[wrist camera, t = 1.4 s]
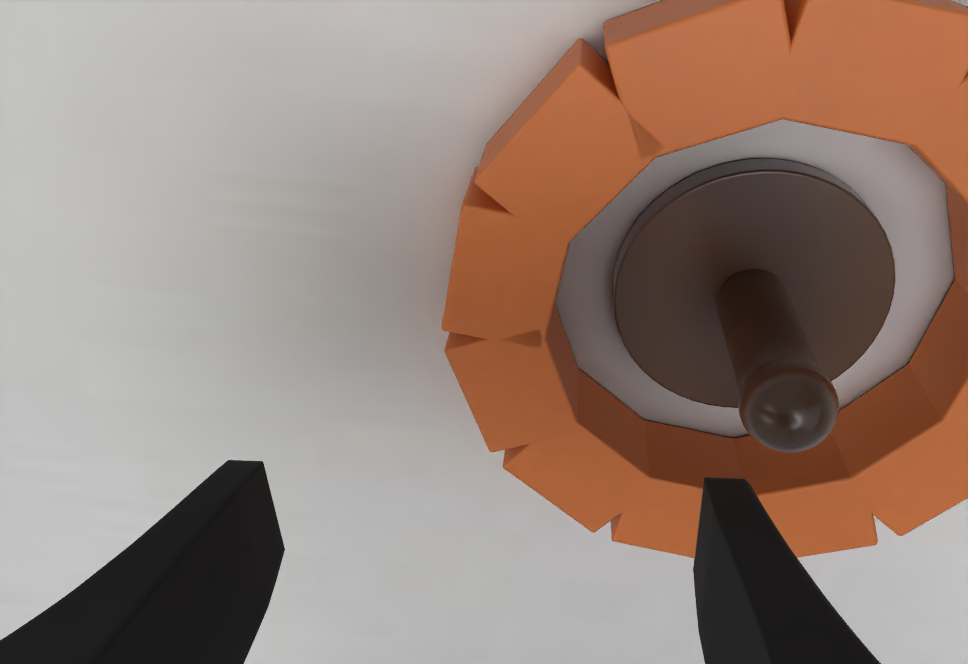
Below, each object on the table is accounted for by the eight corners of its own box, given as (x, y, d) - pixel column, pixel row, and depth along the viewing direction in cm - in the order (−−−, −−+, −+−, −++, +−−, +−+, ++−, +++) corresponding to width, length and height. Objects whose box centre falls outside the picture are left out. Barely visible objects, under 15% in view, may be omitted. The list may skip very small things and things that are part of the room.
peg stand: (648, 413, 22) (666, 581, 17) (581, 204, 19) (578, 333, 14) (899, 358, 20) (1000, 528, 15) (867, 120, 17) (978, 232, 12)
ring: (558, 535, 25) (555, 597, 23) (372, 103, 18) (345, 135, 16) (1071, 442, 21) (1123, 507, 19) (1062, -142, 15) (1138, -139, 13)
